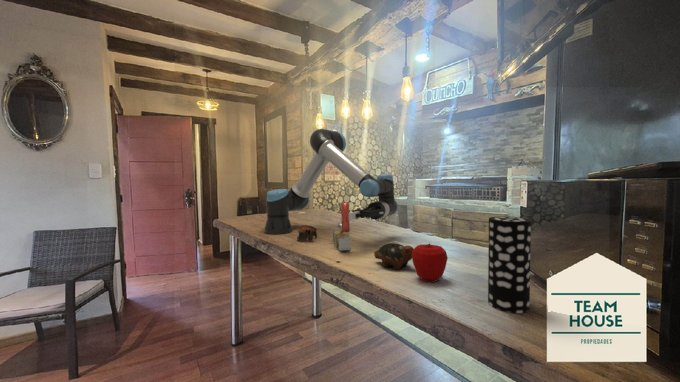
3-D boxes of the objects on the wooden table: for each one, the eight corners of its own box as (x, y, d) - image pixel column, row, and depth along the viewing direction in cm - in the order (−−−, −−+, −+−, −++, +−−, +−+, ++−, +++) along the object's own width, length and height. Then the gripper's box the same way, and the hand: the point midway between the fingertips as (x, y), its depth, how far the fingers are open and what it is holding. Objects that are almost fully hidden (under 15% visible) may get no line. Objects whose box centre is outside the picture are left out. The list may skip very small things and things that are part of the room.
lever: (337, 226, 125) (336, 200, 125) (344, 225, 126) (343, 200, 125) (342, 233, 110) (341, 203, 110) (350, 232, 111) (349, 203, 110)
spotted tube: (514, 296, 72) (515, 216, 71) (538, 312, 63) (540, 221, 62) (481, 297, 71) (481, 217, 70) (501, 314, 63) (502, 222, 62)
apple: (450, 277, 86) (450, 240, 86) (443, 288, 78) (443, 248, 77) (416, 272, 91) (416, 237, 91) (407, 281, 83) (407, 244, 82)
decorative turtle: (410, 274, 89) (408, 248, 89) (368, 269, 98) (365, 245, 98) (422, 264, 97) (420, 241, 96) (382, 260, 106) (380, 238, 106)
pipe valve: (332, 242, 134) (331, 224, 133) (344, 241, 135) (343, 223, 134) (338, 253, 115) (337, 232, 115) (352, 252, 116) (351, 231, 115)
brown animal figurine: (292, 241, 140) (297, 225, 144) (309, 247, 144) (313, 231, 148) (303, 238, 131) (308, 221, 134) (321, 245, 135) (325, 229, 138)
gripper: (391, 219, 126) (364, 227, 107) (365, 217, 134) (336, 225, 114) (390, 202, 126) (364, 207, 107) (365, 201, 133) (335, 206, 114)
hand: (349, 216), depth 110 cm, fingers closed
